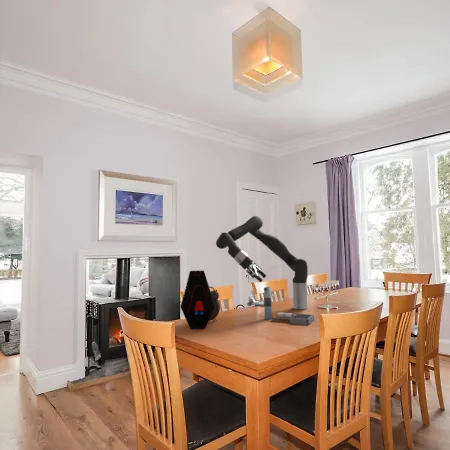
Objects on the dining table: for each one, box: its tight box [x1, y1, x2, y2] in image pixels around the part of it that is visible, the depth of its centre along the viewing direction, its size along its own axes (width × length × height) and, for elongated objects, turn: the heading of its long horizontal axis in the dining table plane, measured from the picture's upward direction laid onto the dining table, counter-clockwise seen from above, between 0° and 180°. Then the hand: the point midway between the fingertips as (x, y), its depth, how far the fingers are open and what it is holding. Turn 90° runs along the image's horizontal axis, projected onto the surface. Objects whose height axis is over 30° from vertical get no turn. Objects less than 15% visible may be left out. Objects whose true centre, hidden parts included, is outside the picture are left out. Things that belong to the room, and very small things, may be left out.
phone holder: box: [247, 292, 274, 307], centre depth 246 cm, size 18×10×12 cm
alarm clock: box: [209, 285, 221, 323], centre depth 193 cm, size 15×7×20 cm, turn 81°
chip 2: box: [284, 312, 295, 318], centre depth 191 cm, size 4×4×4 cm
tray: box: [289, 313, 315, 326], centre depth 188 cm, size 13×10×3 cm
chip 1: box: [276, 311, 287, 318], centre depth 193 cm, size 4×4×4 cm
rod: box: [263, 286, 273, 321], centre depth 197 cm, size 6×4×18 cm
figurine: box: [180, 270, 215, 330], centre depth 180 cm, size 18×8×30 cm, turn 84°
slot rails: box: [271, 315, 296, 324], centre depth 192 cm, size 10×11×2 cm
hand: (263, 279), depth 197 cm, fingers open, 8 cm apart
